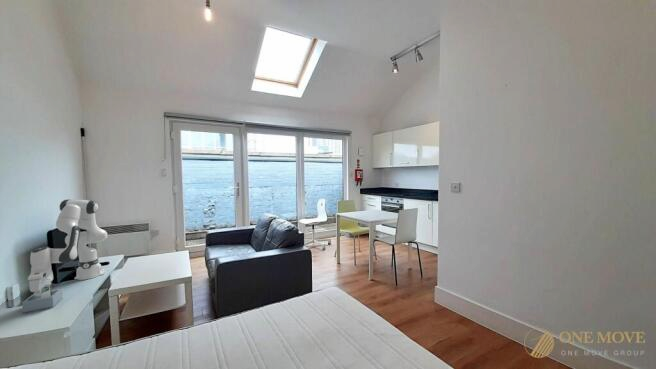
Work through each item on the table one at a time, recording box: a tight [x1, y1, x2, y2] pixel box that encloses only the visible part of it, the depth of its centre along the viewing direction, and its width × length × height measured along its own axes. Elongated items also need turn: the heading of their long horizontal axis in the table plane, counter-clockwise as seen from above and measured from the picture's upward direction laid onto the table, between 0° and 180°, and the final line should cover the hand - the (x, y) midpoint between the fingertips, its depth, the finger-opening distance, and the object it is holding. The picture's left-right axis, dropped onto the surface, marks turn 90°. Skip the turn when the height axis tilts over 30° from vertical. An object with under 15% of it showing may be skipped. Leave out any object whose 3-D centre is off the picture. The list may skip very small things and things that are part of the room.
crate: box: [21, 288, 64, 314], centre depth 165 cm, size 14×14×7 cm
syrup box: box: [33, 279, 53, 299], centre depth 165 cm, size 6×6×14 cm
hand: (43, 292), depth 165 cm, fingers closed on syrup box, 7 cm apart
